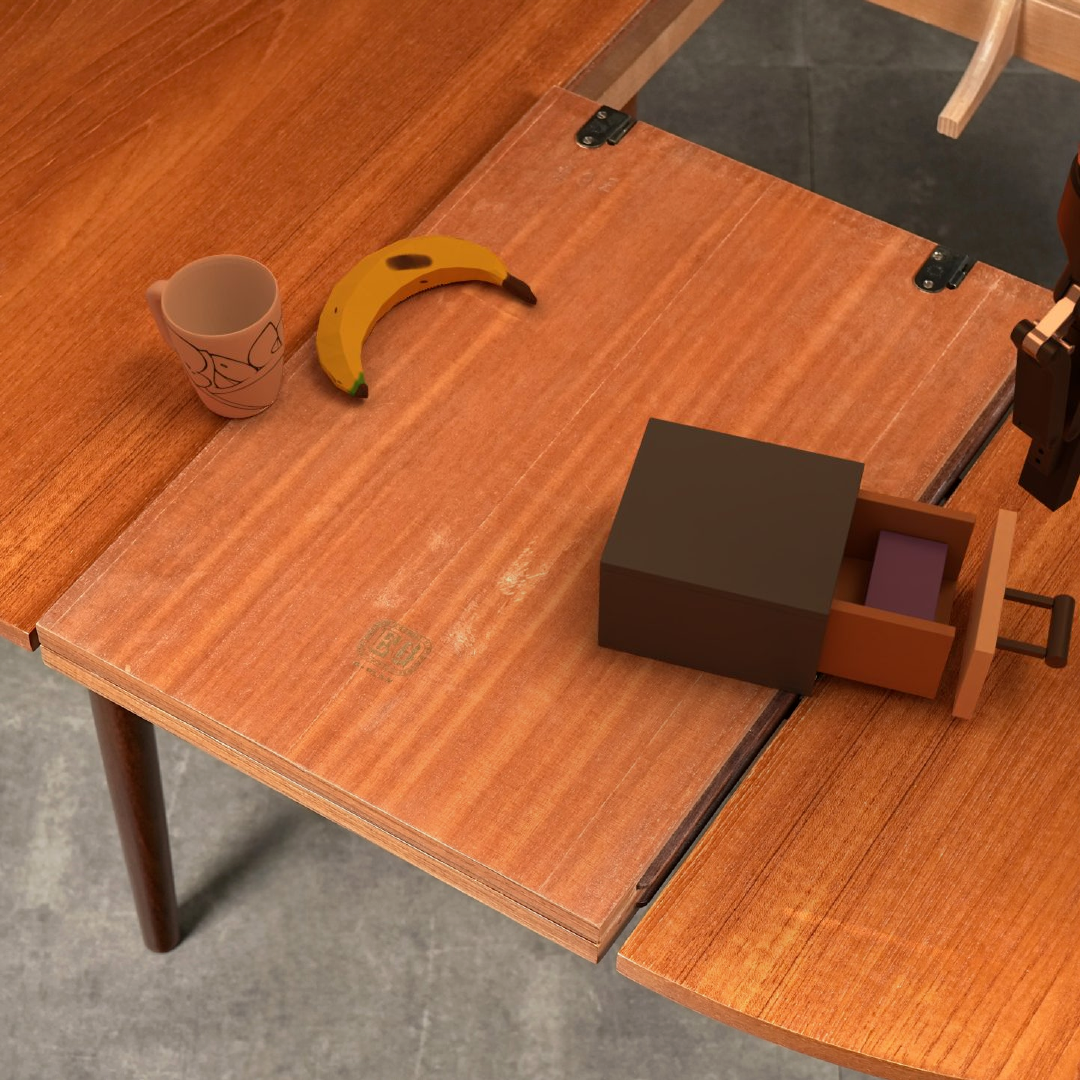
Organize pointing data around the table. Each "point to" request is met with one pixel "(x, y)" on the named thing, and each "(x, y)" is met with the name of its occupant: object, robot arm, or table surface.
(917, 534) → the drawer
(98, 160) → the table surface
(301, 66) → the table surface
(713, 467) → the cabinet
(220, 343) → the mug
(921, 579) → the purple block
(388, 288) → the banana
